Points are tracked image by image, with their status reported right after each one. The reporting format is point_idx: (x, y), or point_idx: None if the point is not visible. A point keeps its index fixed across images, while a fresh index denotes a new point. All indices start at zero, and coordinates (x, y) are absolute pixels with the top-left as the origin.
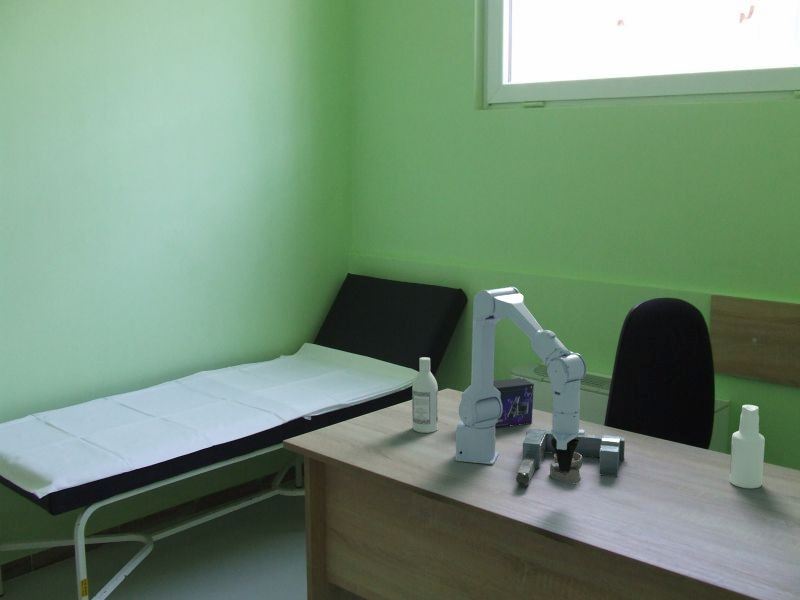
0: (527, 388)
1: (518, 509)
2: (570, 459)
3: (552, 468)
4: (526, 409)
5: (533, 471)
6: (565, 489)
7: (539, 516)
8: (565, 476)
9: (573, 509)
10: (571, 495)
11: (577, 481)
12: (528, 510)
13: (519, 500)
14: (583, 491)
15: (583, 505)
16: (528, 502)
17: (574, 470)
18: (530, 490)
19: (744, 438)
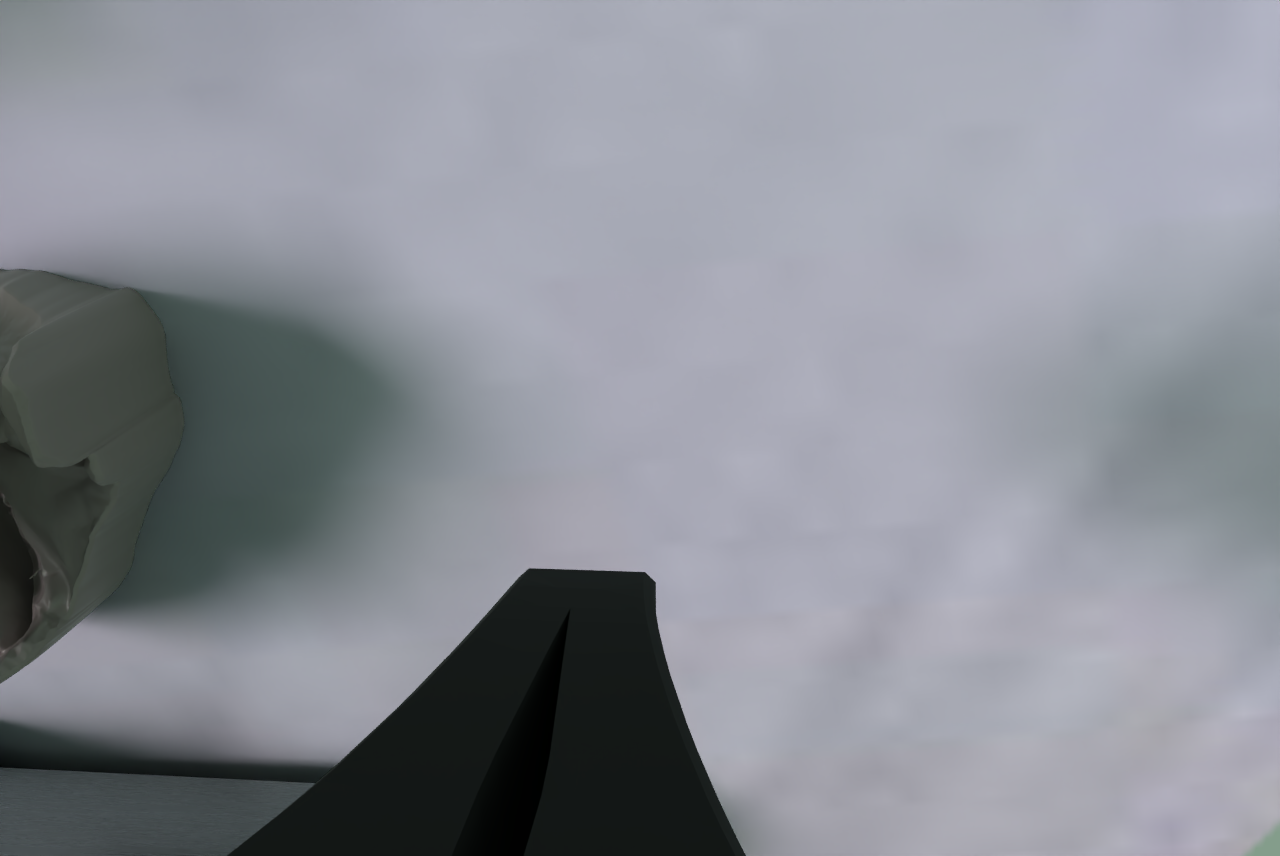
0: None
1: (1075, 802)
2: (710, 792)
3: (38, 656)
4: None
5: (127, 780)
6: (391, 419)
7: (1251, 616)
8: (131, 476)
9: (1003, 266)
10: (550, 333)
11: (120, 303)
12: (1091, 723)
13: (846, 810)
14: (359, 190)
15: (842, 143)
16: (879, 738)
17: (28, 406)
18: None
19: None
